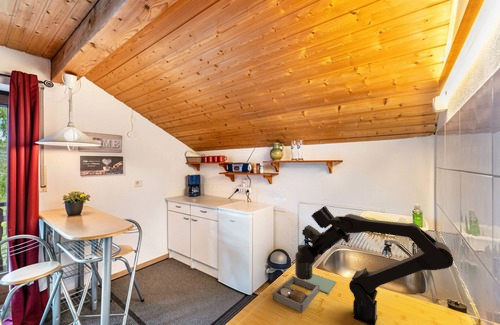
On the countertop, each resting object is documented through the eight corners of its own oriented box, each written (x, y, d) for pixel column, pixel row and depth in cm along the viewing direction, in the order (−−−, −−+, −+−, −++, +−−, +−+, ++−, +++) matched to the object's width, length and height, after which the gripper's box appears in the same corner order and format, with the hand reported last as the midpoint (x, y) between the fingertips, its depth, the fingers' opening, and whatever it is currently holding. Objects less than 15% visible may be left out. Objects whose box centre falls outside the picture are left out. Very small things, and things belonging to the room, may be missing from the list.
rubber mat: (336, 282, 98) (336, 281, 98) (328, 294, 89) (328, 292, 89) (312, 274, 105) (312, 273, 105) (302, 284, 96) (302, 283, 96)
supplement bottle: (310, 272, 93) (311, 244, 93) (313, 281, 86) (314, 250, 86) (294, 271, 94) (294, 243, 94) (295, 279, 87) (296, 249, 87)
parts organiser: (319, 291, 91) (319, 285, 91) (302, 312, 78) (302, 305, 78) (292, 281, 98) (292, 275, 98) (272, 299, 85) (273, 292, 85)
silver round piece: (292, 298, 86) (292, 290, 86) (287, 303, 83) (288, 295, 83) (283, 294, 89) (283, 286, 89) (278, 298, 86) (278, 291, 86)
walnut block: (304, 303, 83) (305, 292, 83) (300, 308, 80) (300, 297, 80) (295, 299, 86) (295, 288, 86) (290, 304, 83) (290, 293, 83)
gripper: (323, 216, 95) (299, 236, 102) (305, 225, 80) (278, 248, 87) (342, 238, 90) (315, 258, 97) (327, 252, 75) (296, 274, 82)
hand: (301, 259), depth 91 cm, fingers closed on supplement bottle, 7 cm apart
